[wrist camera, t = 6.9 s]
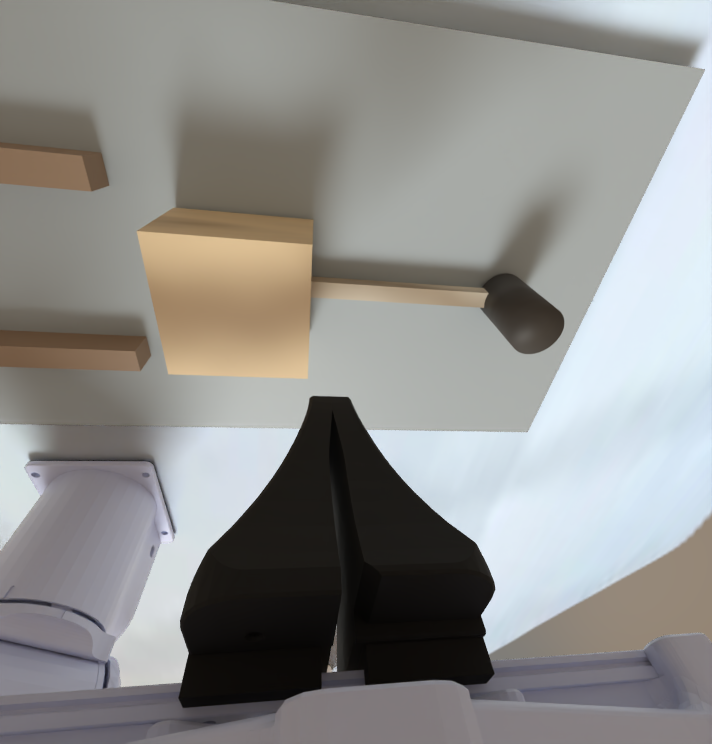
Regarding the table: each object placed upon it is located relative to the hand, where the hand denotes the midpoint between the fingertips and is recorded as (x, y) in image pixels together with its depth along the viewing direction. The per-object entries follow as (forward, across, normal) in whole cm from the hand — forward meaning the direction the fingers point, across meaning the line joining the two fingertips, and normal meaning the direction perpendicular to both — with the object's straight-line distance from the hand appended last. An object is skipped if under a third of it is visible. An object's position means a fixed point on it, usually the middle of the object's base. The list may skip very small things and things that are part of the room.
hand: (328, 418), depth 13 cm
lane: (+9, +4, -2) cm, 10 cm away
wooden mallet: (+8, -2, -2) cm, 8 cm away
